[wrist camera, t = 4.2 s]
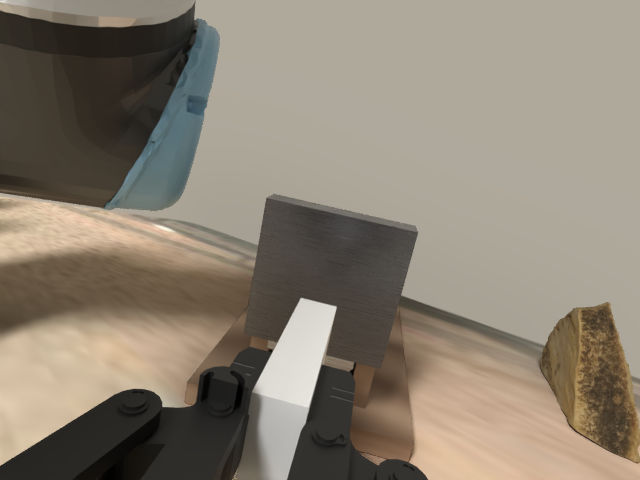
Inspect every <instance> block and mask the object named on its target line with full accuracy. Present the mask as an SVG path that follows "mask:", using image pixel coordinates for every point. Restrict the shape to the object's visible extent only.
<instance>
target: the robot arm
mask: <svg viewBox="0 0 640 480" xmlns="http://www.w3.org/2000/svg"><path fill="white" fill-rule="evenodd" d="M194 12H195V0H0V193H4V194H11V195H18V196H25V197H32V198H40V199H45V200H52V201H59V202H66V203H73V204H79V205H86V206H93V207H100V208H102V209H107V210H112V209H114V208H124V209H138V210H150V211H157V210H163V209H165V208H168V207H170V206H172V205H173V204H175V203H176V202H177V201H178V200H179V199H180V197H181V195H182V194H183V191H184V189H185V186H186V183H187V180H188V177H189V174H190V171H191V167H192V164H193V160H194V157H195V153H196V149H197V145H198V141H199V137H200V133H201V129H202V125H203V120H204V110H205V108H206V107H207V102H208V97H209V93H210V90H211V87H212V82H213V78H214V72H215V68H216V63H217V57H218V52H219V43H220V37H219V34H218V32H217V30H216V29H215V28H213V27H211V26H209V25H207V23H206V21H205V20H202V19H196V20H194ZM336 308H337V307H336V306H332V305H328V304H324V303H320V302H316V301H312V300H308V299H304V298H301V299H300V301H299V303H298V305H297V306H296V308H295V310H294V312H293V314H292V316H291V318H290V320H289V322H288V324H287V326H286V328H285V329H284V331H283V333H282V335H281V337H280V339H279V341H278V343H277V345H276V347H275V349H274V351H273V353H272V352H268V351H265V350H261V349H257V348H253V347H248V348H246V349H244V350H243V351H241V352H239V353H238V355H237V356H236V358H235V359H234V361H233V363H231V365H230V366H229V367H227V366H218V367H212V368H209V369H206V370H205V371H204V372H202V373H201V374H200V378H199V385H198V392H197V399H196V402H195V404H194V405H193V406H190V407H185V408H170V407H162V401H161V399H160V397H159V396H158V395H157V394H155V393H154V392H152V391H148V390H145V389H131V390H125V391H122V392H120V393H118V394H115V395H113V396H112V397H110V398H109V399H107V400H105V401H104V402H102V403H101V404H99V405H97V406H96V407H94V408H93V409H91V410H89V411H88V412H86V413H85V414H83V415H81V416H80V417H78V418H77V419H75V420H73V421H72V422H70V423H68V424H67V425H65V426H64V427H62V428H60V429H59V430H57V431H56V432H54V433H52V434H51V435H49V436H48V437H46V438H44V439H43V440H41V441H40V442H38V443H36V444H35V445H33V446H31V447H30V448H28V449H27V450H25V451H23V452H22V453H20V454H19V455H17V456H15V457H14V458H12V459H11V460H9V461H7V462H6V463H4V464H3V465H1V466H0V480H232V479H233V477H234V474H235V472H236V470H237V468H238V470H237V476H236V478H238V479H241V480H428V479H427V477H426V476H425V474H424V473H423V472H422V471H420V470H419V469H418V468H417V467H416V466H414V465H412V464H410V463H409V462H407V461H403V460H399V459H387V460H385V461H383V462H382V463H380V465H379V466H378V465H376V464H374V463H372V462H371V461H369V460H367V459H366V458H365V457H363V456H362V455H361V454H360V453H359V452H358V451H357V450H356V449H355V447H354V446H353V445H352V442H351V439H350V428H351V419H352V410H353V401H354V392H355V383H356V382H355V380H354V378H353V376H352V374H351V372H348V371H345V370H341V369H337V368H333V367H329V366H326V365H324V360H325V356H326V352H327V347H328V343H329V339H330V334H331V330H332V326H333V321H334V317H335V313H336Z"/></svg>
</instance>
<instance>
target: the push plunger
mask: <svg viewBox="0 0 640 480" xmlns="http://www.w3.org/2000/svg"><path fill="white" fill-rule="evenodd" d="M417 234H418V231H417V229H416V227H415V226H413V225H408V224H404V223H400V222H395V221H391V220H386V219H382V218H378V217H373V216H369V215H364V214H360V213H356V212H351V211H347V210H342V209H338V208H334V207H329V206H324V205H320V204H316V203H311V202H307V201H302V200H298V199H294V198H289V197H285V196H280V195H276V194H273V195H271V196H269V197H267V198H266V204H265V210H264V215H263V222H262V227H261V233H260V239H259V245H258V251H257V256H256V262H255V268H254V274H253V280H252V286H251V292H250V298H249V303H248V309H247V315H246V321H245V327H244V333H243V334H246V335H250V336H254V337H258V338H262V339H265V340H268V345H267V348H269V349H273V351H274V349H275V347H276V345H277V343H278V341H279V339H280V337H281V335H282V333H283V331H284V329H285V328H286V326H287V324H288V322H289V320H290V318H291V316H292V314H293V312H294V310H295V308H296V306H297V305H298V303H299V301H300V299H301V298H304V299H308V300H312V301H316V302H320V303H324V304H328V305H332V306H336V307H337V308H336V313H335V317H334V321H333V326H332V330H331V334H330V339H329V343H328V347H327V352H326V356H325V360H324V365H326V366H329V367H333V368H337V369H341V370H345V371H348V372H349V371H350V370H353V366H354V363H358V364H362V365H366V366H370V367H374V368H378V369H381V367H382V363H383V359H384V356H385V352H386V348H387V345H388V341H389V337H390V334H391V330H392V326H393V323H394V319H395V315H396V312H397V308H398V304H399V301H400V297H401V293H402V289H403V286H404V282H405V278H406V275H407V271H408V267H409V264H410V260H411V256H412V253H413V249H414V245H415V242H416V238H417ZM272 353H273V352H272Z"/></svg>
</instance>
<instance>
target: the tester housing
mask: <svg viewBox="0 0 640 480" xmlns="http://www.w3.org/2000/svg"><path fill="white" fill-rule="evenodd" d="M247 309H248V307H247V308H246V309H245V310H244V312H243V313H242V314H241V316H240V317H239V318H238V319H237V321H236V322H235V323H234V324H233V326H232V327H231V328H230V329H229V331H228V332H227V333H226V334H225V336H224V337H223V338H222V339H221V341H220V342H219V343H218V344H217V346H216V347H215V348H214V349H213V351H212V352H211V353H210V354H209V356H208V357H207V358H206V359H205V361H204V362H203V363H202V364H201V366H200V367H199V368H198V369H197V371H196V372H195V373H194V374H193V376H192V377H191V378H190V379H189V381H188V382H187V389H186V396H185V403H188V404H191V405H194V404H195V402H196V399H197V392H198V385H199V378H200V374H201V373H202V372H204V371H205V370H206V369H209V368H212V367H218V366H227V367H229V366H230V365H231V363H233V361H234V359H235V358H236V356H237V355H238V353H239V352H241V351H243V350H244V349H246V348H248V347H253V348H257V349H261V350H265V351H268V352H273V349H269V348H267V345H268V340H265V339H262V338H258V337H254V336H250V335H246V334H243V333H244V327H245V321H246V315H247ZM349 372H351V374H352V376H353V378H354V380H355V382H356V383H355V392H354V401H353V410H352V419H351V428H350V439H351V442H352V445H353V446H354V447H355V449H356V450H357V451H361V452H365V453H368V454H372V455H375V456H379V457H383V458H386V459H399V460H403V461H407V462H408V461H409V458H410V455H411V451H412V448H413V445H414V440H413V431H412V422H411V413H410V404H409V395H408V386H407V377H406V368H405V359H404V350H403V341H402V332H401V324H400V315H399V306H398V308H397V312H396V315H395V319H394V323H393V326H392V330H391V334H390V337H389V341H388V345H387V348H386V352H385V356H384V359H383V363H382V367H381V369H378V368H374V367H370V366H366V365H362V364H358V363H354V366H353V370H350V371H349Z"/></svg>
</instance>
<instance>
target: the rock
mask: <svg viewBox="0 0 640 480" xmlns="http://www.w3.org/2000/svg"><path fill="white" fill-rule="evenodd" d="M542 354H543V357H542V358H541V366H540V367H541V369H542V372H543V374H544V375H545V377H546V379H547V380H548V382H549V384H550V386H551V388H552V390H553V391H554V393H555V395H556V397H557V402H558V403H559V405H560V407H561V410H562V411H563V412H564V414H565V415H566V416H567V420H568V423H569V424H570V425H571V426H572V427H573V428H574V429H575V430H576V431H577V432H579V433H581V434H582V435H584V436H585V437H587V438H589V439H590V440H592V441H594V442H596V443H597V444H599V445H600V446H602V447H604V448H605V449H607V450H609V451H611V452H613V453H615V454H618V455H620V456H622V457H625V458H628V459H630V460H632V461H634V462H635V463H640V457H639V454H638V446H639V445H640V429H639V424H638V416H637V413H636V408H635V401H634V394H633V385H632V382H631V374H630V371H629V365H628V364H627V362H626V360H625V356H624V350H623V347H622V345H621V342H620V339H619V334H618V331H617V329H616V327H615V322H614V319H613V315H612V312H611V307H610V303H608V302H606V303H604V304H602V305H598V306H595V307H586V308H574V309H573V310H572V311H571V312H570V313H568V314H567V315H566V316H565V317H564V318H563V319H560V320H559V322H558V323H557V325H556V326H555V327H554V330H553V331H552V332H551V333H550V335H549V337H548V341H547V343H546V345H545V347H544V349H543V352H542Z"/></svg>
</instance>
